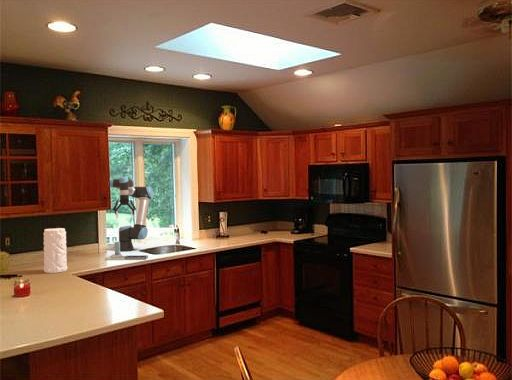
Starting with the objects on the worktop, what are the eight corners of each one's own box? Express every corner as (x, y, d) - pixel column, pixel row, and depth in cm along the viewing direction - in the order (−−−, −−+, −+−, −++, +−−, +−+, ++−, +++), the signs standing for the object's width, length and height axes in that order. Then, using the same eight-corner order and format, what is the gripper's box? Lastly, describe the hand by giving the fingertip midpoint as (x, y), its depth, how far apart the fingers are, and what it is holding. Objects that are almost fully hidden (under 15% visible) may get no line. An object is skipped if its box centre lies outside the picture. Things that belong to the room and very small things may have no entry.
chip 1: (112, 259, 383) (112, 254, 383) (117, 259, 383) (117, 254, 383) (111, 260, 379) (111, 255, 379) (116, 260, 379) (116, 255, 379)
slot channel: (127, 259, 386) (126, 255, 386) (147, 259, 386) (147, 255, 386) (124, 261, 377) (124, 257, 377) (145, 261, 377) (145, 257, 377)
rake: (116, 257, 394) (115, 241, 394) (120, 257, 394) (120, 241, 394) (114, 258, 390) (114, 242, 389) (119, 258, 390) (118, 242, 389)
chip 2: (117, 259, 383) (117, 254, 383) (122, 259, 383) (122, 254, 383) (116, 260, 379) (115, 255, 379) (120, 260, 379) (120, 255, 379)
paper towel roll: (43, 274, 330) (42, 231, 328) (43, 270, 344) (42, 228, 343) (68, 272, 337) (67, 229, 336) (67, 267, 352) (66, 227, 350)
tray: (109, 259, 387) (109, 255, 386) (127, 259, 387) (127, 255, 387) (105, 261, 376) (105, 258, 375) (123, 261, 376) (123, 258, 376)
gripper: (108, 195, 395) (109, 218, 396) (137, 194, 395) (137, 218, 396) (111, 194, 402) (112, 217, 404) (139, 194, 403) (139, 217, 404)
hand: (124, 218), depth 400 cm, fingers open, 13 cm apart
